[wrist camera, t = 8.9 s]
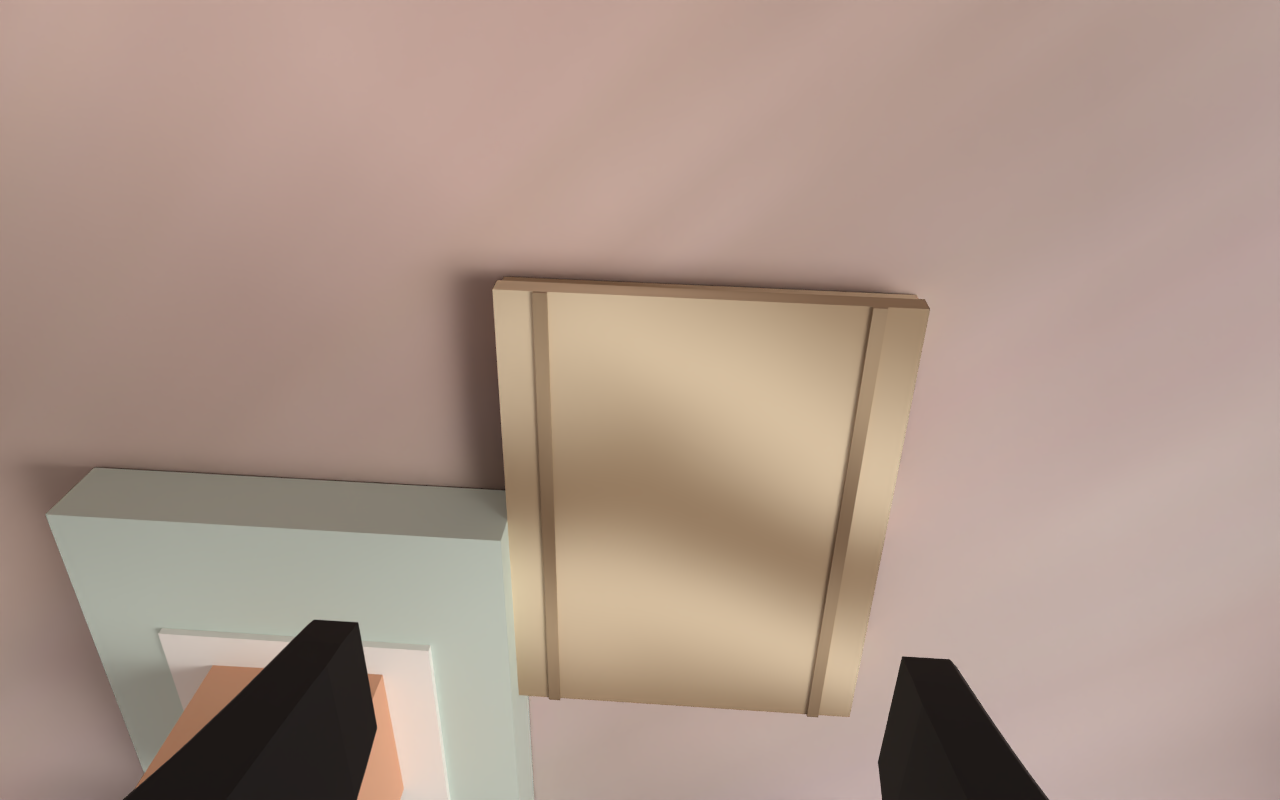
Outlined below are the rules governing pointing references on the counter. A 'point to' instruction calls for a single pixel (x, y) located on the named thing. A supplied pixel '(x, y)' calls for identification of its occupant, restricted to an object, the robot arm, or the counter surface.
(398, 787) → the orange block
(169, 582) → the dock
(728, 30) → the counter surface
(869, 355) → the pallet
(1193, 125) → the counter surface
